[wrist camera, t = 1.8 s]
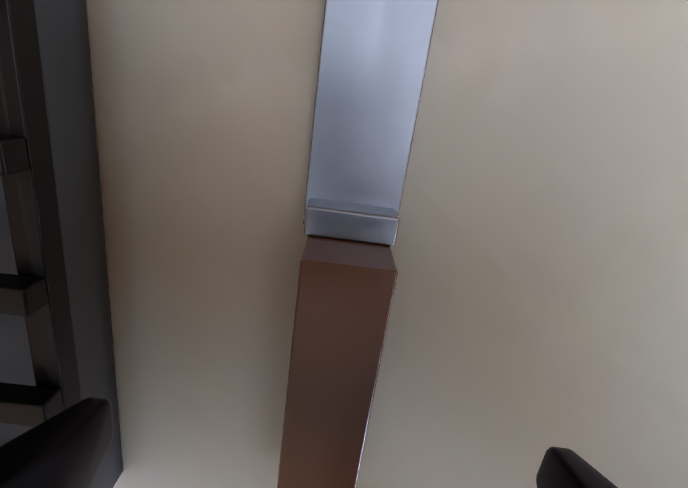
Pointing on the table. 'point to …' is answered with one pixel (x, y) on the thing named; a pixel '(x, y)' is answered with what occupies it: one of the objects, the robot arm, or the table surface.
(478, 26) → the table surface
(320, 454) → the knife
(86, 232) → the dish rack
